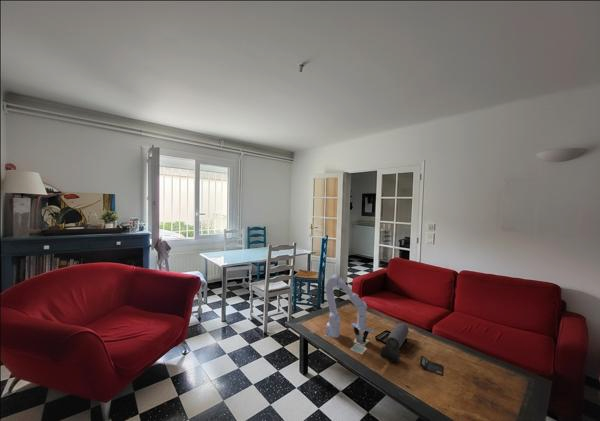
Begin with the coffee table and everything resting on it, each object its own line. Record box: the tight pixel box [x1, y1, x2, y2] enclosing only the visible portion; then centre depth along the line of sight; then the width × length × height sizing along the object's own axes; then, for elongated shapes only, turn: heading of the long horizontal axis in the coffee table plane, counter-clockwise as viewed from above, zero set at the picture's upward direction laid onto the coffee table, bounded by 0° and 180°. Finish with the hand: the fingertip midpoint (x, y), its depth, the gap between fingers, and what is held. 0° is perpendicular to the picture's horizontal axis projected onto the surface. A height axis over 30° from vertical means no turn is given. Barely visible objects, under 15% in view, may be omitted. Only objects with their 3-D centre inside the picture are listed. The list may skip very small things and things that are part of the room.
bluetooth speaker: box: [386, 322, 409, 350], centre depth 167 cm, size 23×9×10 cm, turn 143°
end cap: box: [380, 344, 401, 364], centre depth 150 cm, size 10×7×7 cm
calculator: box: [419, 354, 444, 376], centre depth 144 cm, size 9×12×3 cm
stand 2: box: [349, 343, 368, 355], centre depth 158 cm, size 8×8×2 cm
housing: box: [355, 330, 365, 345], centre depth 166 cm, size 4×6×5 cm
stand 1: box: [353, 338, 369, 347], centre depth 166 cm, size 8×8×2 cm
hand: (361, 339), depth 166 cm, fingers closed on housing, 4 cm apart
